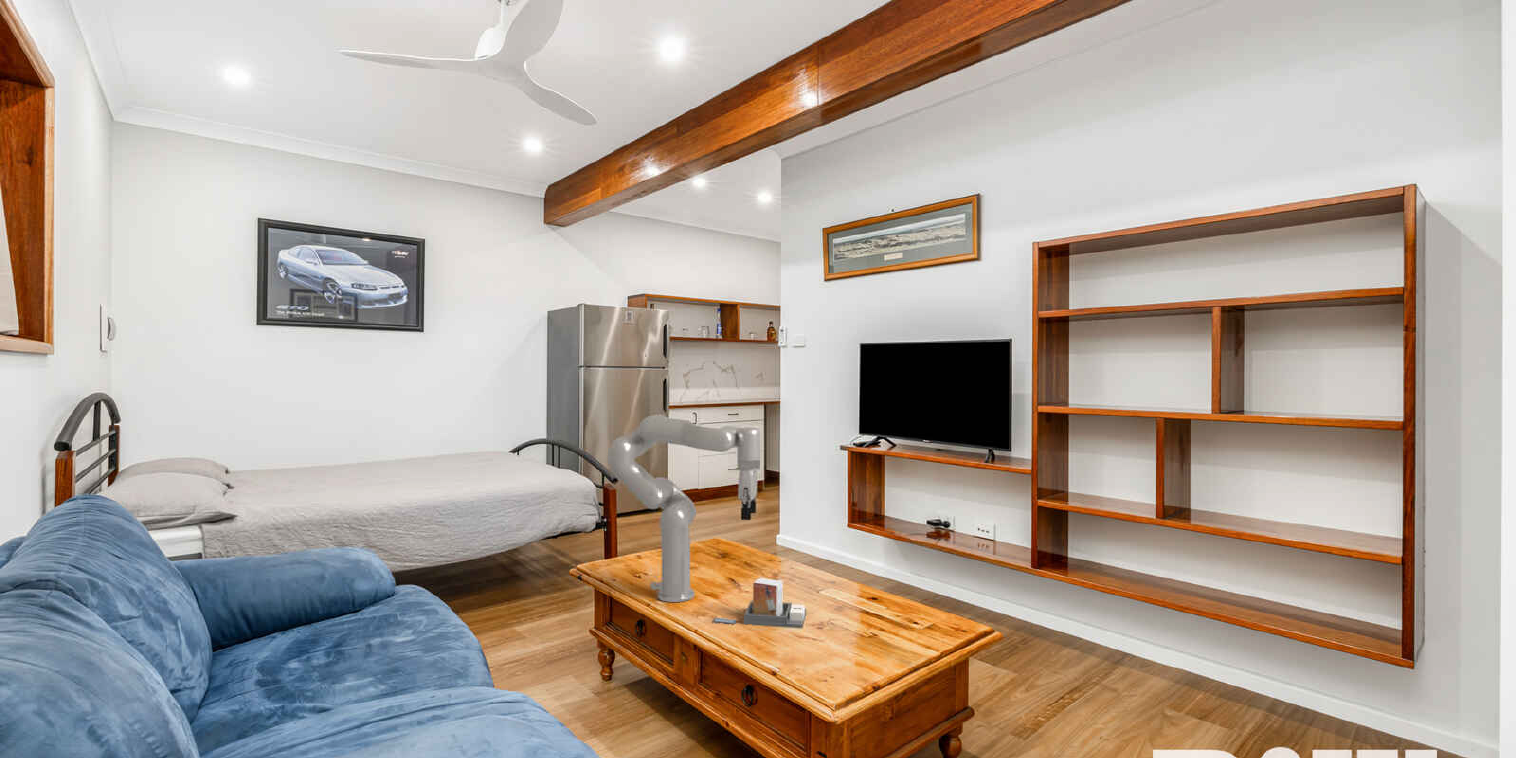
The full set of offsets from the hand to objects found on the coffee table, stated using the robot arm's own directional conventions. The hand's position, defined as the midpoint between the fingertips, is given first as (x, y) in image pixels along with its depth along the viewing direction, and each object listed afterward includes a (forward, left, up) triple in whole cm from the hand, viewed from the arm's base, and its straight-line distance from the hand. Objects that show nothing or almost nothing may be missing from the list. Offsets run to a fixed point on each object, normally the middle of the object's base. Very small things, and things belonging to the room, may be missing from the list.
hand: (748, 516), depth 225 cm
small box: (+9, -14, -28) cm, 32 cm away
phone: (-4, -19, -29) cm, 35 cm away
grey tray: (+11, -13, -28) cm, 33 cm away
